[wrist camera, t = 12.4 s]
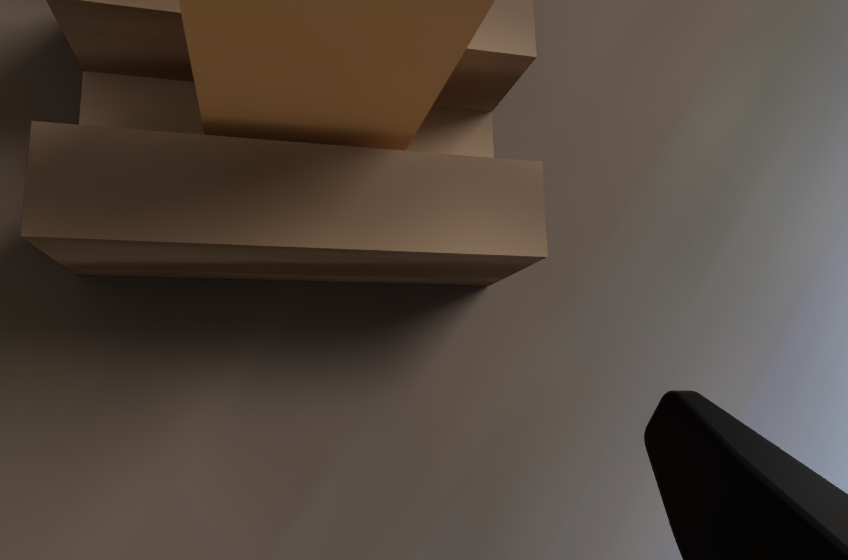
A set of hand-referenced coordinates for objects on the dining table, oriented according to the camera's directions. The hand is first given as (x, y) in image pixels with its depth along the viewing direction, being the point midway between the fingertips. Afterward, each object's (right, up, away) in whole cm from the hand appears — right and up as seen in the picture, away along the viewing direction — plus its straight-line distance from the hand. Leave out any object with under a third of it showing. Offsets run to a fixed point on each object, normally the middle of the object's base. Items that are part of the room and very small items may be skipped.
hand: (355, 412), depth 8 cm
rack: (-4, +10, +15) cm, 18 cm away
